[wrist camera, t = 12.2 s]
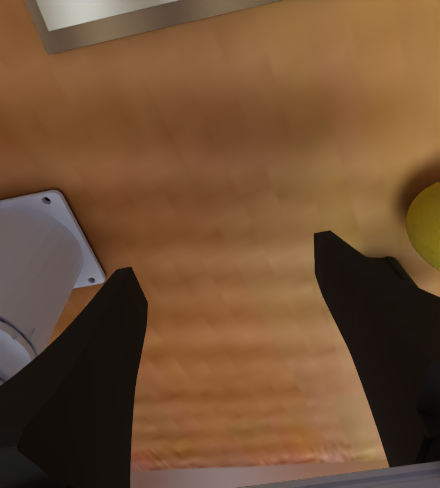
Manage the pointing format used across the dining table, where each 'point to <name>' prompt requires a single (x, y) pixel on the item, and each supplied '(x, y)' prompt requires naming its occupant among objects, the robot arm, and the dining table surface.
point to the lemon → (426, 224)
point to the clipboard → (118, 18)
